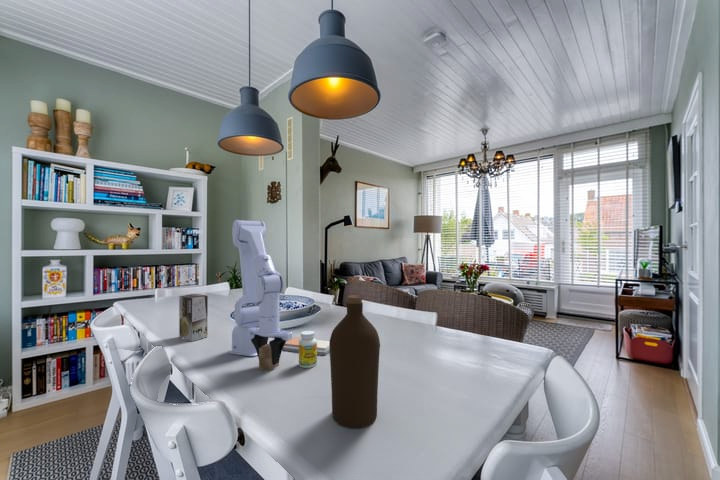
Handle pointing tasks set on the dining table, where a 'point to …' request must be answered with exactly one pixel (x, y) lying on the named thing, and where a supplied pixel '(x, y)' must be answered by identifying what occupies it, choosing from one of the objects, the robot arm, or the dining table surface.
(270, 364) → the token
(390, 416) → the dining table surface
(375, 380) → the olive oil
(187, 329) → the coffee box
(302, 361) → the supplement bottle
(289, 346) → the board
